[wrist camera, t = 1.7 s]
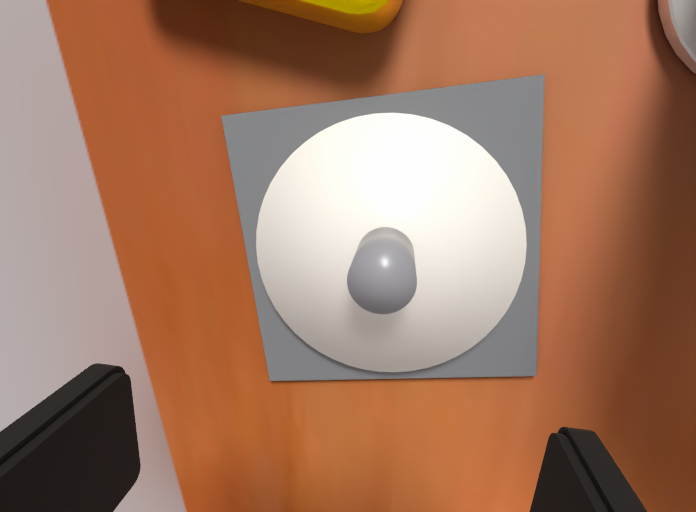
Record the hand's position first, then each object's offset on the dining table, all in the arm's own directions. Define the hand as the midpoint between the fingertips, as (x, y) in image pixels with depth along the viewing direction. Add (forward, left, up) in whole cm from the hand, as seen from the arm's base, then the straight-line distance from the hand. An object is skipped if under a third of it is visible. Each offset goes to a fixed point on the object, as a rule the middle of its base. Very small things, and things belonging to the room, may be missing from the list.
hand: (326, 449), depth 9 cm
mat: (-1, 0, -18) cm, 19 cm away
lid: (-1, 0, -18) cm, 18 cm away
